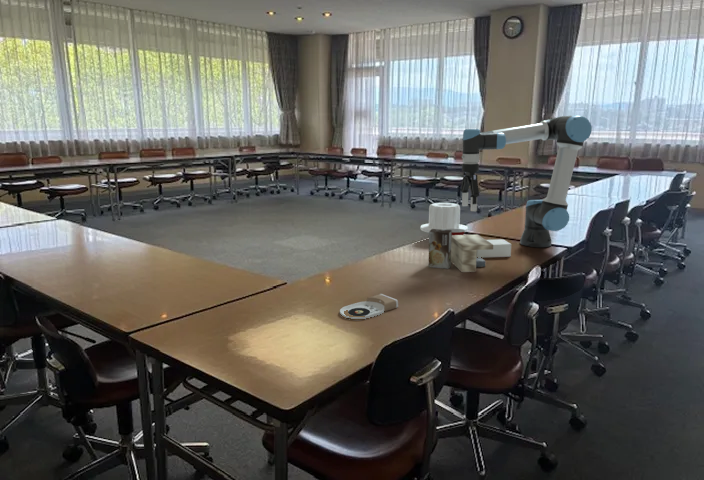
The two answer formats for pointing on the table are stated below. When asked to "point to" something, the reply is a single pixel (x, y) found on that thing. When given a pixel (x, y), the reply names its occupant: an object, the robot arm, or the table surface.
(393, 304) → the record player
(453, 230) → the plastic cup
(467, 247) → the beige boxy piece
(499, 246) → the white block
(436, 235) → the coffee box
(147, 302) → the table surface
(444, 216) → the ribbed cylinder on disc
